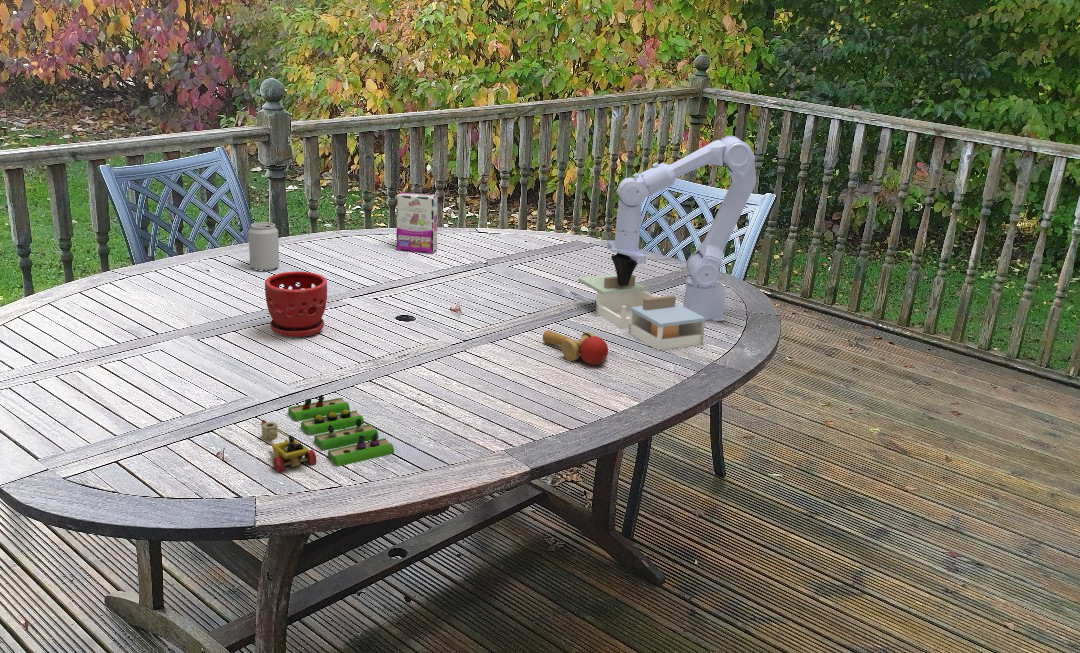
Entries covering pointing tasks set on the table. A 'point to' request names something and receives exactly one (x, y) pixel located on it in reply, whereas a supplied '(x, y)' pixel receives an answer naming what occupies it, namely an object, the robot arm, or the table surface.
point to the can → (263, 246)
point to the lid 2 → (666, 312)
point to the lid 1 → (610, 284)
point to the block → (665, 331)
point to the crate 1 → (619, 306)
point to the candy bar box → (416, 222)
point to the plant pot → (296, 303)
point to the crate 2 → (642, 329)
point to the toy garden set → (327, 435)
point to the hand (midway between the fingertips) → (623, 284)
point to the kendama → (579, 346)
